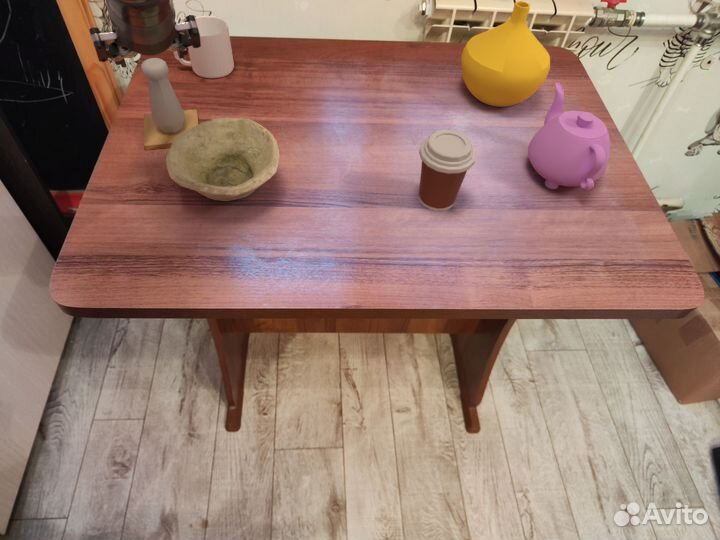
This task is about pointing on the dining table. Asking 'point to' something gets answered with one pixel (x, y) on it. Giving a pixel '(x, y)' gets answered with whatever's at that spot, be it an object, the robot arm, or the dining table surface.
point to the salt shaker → (162, 96)
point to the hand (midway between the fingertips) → (151, 56)
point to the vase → (505, 62)
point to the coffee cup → (443, 168)
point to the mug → (211, 49)
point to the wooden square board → (159, 139)
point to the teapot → (570, 146)
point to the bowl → (223, 158)
